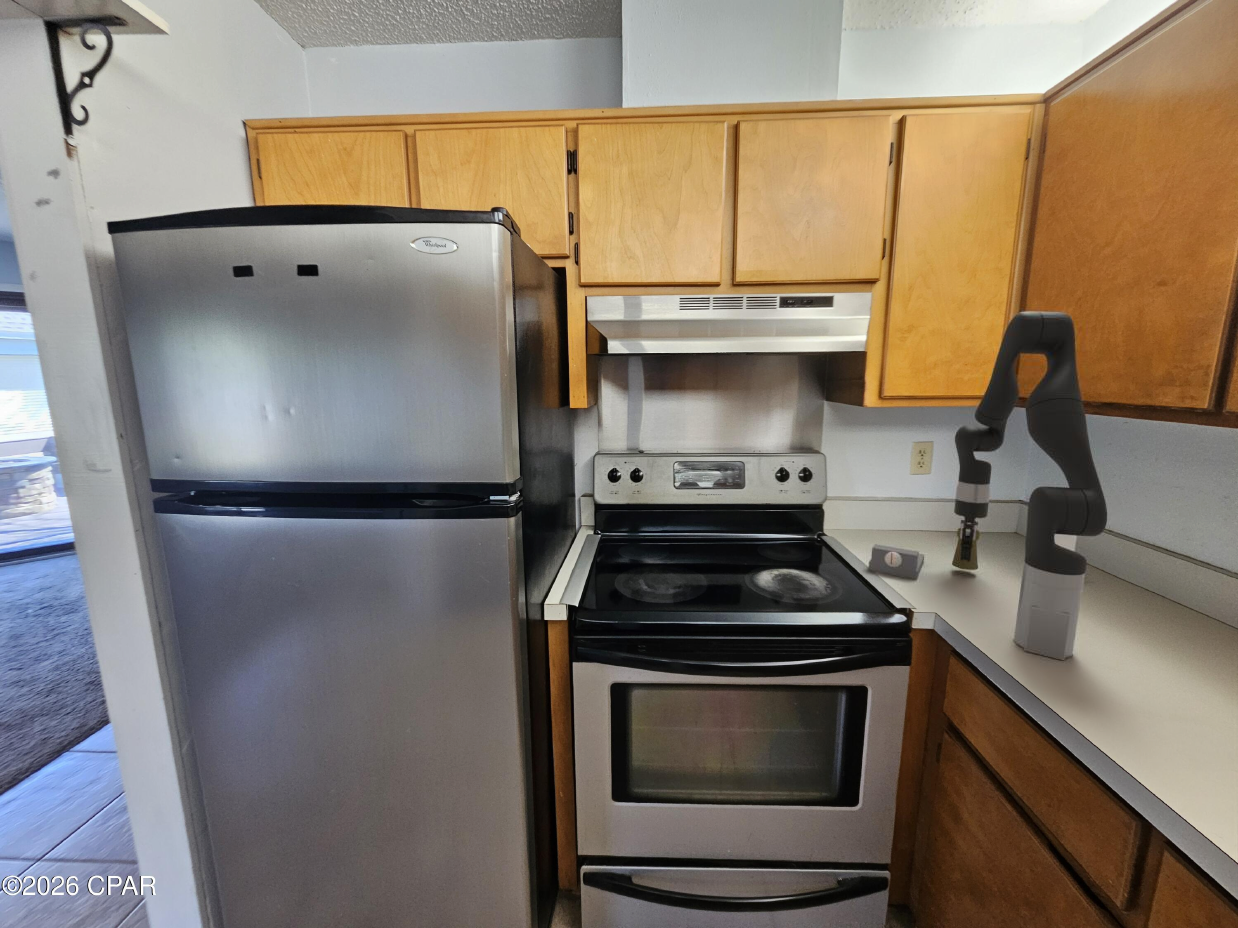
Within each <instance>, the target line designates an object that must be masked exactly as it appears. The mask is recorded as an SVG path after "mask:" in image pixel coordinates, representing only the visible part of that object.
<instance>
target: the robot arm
mask: <svg viewBox="0 0 1238 928" xmlns="http://www.w3.org/2000/svg"><path fill="white" fill-rule="evenodd" d="M1075 331H1076V330H1075V325H1074V321H1073V319H1072V316H1070V315H1069V314H1068V313H1066V312H1061V311H1021V312H1018V313H1016V314H1015V315H1014V316H1013V317H1012V318H1011V319H1010V321H1009V322H1008V325H1007V327H1006V329H1005V331H1004V333H1003V338H1002V341H1001V343H1000V346H999V349H998V352H997V356H996V359H995V363H994V367H993V369H992V372H991V376H990V379H989V383H988V385H987V388H986V389H985V392H984V394H983V396H982V398H981V399H980V402H979V404H978V406H977V407H976V410H975V412H974V419H975V420H976V422H977V423H979V424H981V425H962V426H961V427H960V428H958V430H957V431H956V433H955V436H954V443H955V449H956V453H957V457H958V458H957V459H958V462H959V464H958V465H959V472H958V481H957V484H956V485H957V486H956V490H955V497H954V509H953V513H954V514H955V515H957V516H960V517H964V519H961V520H960V524H959V528H961V533H960V538H961V539H962V542H961V547H962V549H961V558H960V559H961V560H962V561H963V559H964V560H967V561H968V562H969V561H970V557H971V549H972V548H973V545H972V543H973V540H975V537H976V530H978V529H979V521H977V520H976V519H985V518H987V517H988V513H989V503H990V497H991V494H990V493H991V488H990V487H991V477H992V465H991V463H990V462H988V461H987V460H982V459H977V458H976V457H975V454H974V453H975V452H976V453H977V452H980V453H981V452H984V453H991V452H996V451H997V450H998V449H1000V448H1001V446H1002V445H1003V444H1004V440H1005V433H1006V428H1007V421H1008V420H1009V418H1010V416H1011V414H1012V412H1013V410H1014V408H1016V405H1017V403H1018V402H1019V401H1018V400H1019V396H1020V387H1019V383H1018V381H1017V378H1016V377H1017V376H1016V373H1015V364H1016V362H1017V361H1016V360H1018V357H1019V355H1021V354H1023V355H1024V354H1025V355H1027V354H1028V355H1043V356H1045V359H1046V364H1047V365H1046V371H1045V374H1044V376H1043V377H1042V379H1041V380H1040V381H1039V382H1038V383H1037V385H1036V386H1035V388H1034V389H1033V390H1032V391H1031V393H1030V394H1029V396H1028V398H1027V399H1026V402H1025V405H1024V406H1025V409H1024V410H1025V417H1026V418H1025V419H1026V426H1027V430H1028V433H1029V435H1030V437H1031V439H1032V440H1033V441H1034V443H1035V444H1036V445H1037V446H1038V447H1039V448H1040V449H1041V450H1042V451H1043V452H1044V453H1045V454H1046V456H1047V455H1048V456H1049V458H1050V459H1051V460H1053V462H1054V463H1056V465H1057V466H1058V467H1059V468H1060V470H1061V471H1062V474H1063V475H1064V477H1065V480H1066V482H1067V485H1068V487H1065V486H1064V487H1063V486H1038V487H1036V488H1035V489H1033V490H1032V492H1031V494H1030V496H1029V498H1028V499H1029V500H1028V505H1027V516H1026V517H1027V518H1026V530H1025V532H1026V533H1025V541H1024V542H1025V543H1024V545H1025V546H1024V553H1025V554H1024V560H1023V561H1024V562H1023V570H1022V576H1021V583H1020V588H1019V589H1020V590H1019V598H1018V604H1017V605H1018V606H1017V613H1016V620H1015V627H1014V637H1013V641H1014V642H1015V644H1017V646H1019V647H1021V648H1022V649H1023V651H1024V652H1028V653H1032V654H1036V655H1041V656H1044V657H1048V658H1053V659H1057V660H1060V661H1065V660H1066V659H1067V658H1070V657H1072V656H1073V653H1074V646H1075V640H1076V633H1077V626H1078V622H1079V621H1078V619H1079V614H1080V607H1081V600H1082V595H1083V588H1084V582H1085V577H1086V571H1087V565H1088V563H1087V562H1088V561H1087V558H1086V557H1085V556H1084V555H1082V554H1080V553H1079V552H1077V551H1075V552H1074V551H1072V550H1069V549H1066V548H1064V547H1061V546H1059V545H1057V544H1056V543H1055V539H1054V536H1055V534H1062V535H1075V536H1077V537H1098V536H1100V535H1101V534H1102V533H1103V532H1104V531H1105V529H1106V527H1107V522H1108V509H1107V508H1108V507H1107V503H1106V499H1105V496H1104V491H1103V489H1102V485H1101V482H1100V479H1099V476H1098V472H1097V469H1096V466H1095V463H1094V458H1093V454H1092V450H1091V445H1090V439H1089V438H1090V437H1089V432H1088V424H1087V419H1086V418H1087V417H1086V412H1085V406H1084V401H1083V397H1082V393H1081V392H1082V391H1081V388H1080V383H1079V377H1078V376H1079V375H1078V369H1077V354H1076V352H1077V351H1076V334H1075ZM973 533H974V534H973ZM964 541H970V544H969V543H964Z"/></svg>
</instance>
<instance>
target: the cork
mask: <svg viewBox="0 0 1238 928" xmlns="http://www.w3.org/2000/svg"><path fill="white" fill-rule="evenodd" d="M960 533H961V528H960V527H959V528H957V531H956V535H957V536H956V537H957V538H958V540H957V543H956V547H955V550H954V551H955V552H954V555H953V559H952V563H951V565H952V566H953V567H955V568H957V569H961V570H968V571H976V570H978V569H979V567H978V563H979V562H978V545H977V544H978V543H977V541H978V540H979V539H980V536H981V533H980V531H979V530H978V529H977V530H976V537H975V540H973V543H972V545H973V548H972V549H971V557H970V561H969V562H968V561H967V560H964V559H963V561H962V560H961V559H960V558H961V549H962V547H961V542H962V539H961V538H960ZM973 534H974V533H973ZM964 543H969V544H970V541H964Z"/></svg>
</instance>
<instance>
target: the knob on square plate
mask: <svg viewBox="0 0 1238 928" xmlns="http://www.w3.org/2000/svg"><path fill="white" fill-rule="evenodd" d="M919 552H920V551H918V550H912V549H907V548H899V547H894V546H889V545H882V544H877V543H875V544H873V546H872V547H871V559H870V560H869V562H868V571H870V570H871V572H874V573H875V572H876V573H879V574H881V573H882V574H886V575H892V576H895V577H901V578H906V579H910V580H916V581H917V580H918V578H919V575H920V574H921V573H920V572H921V570H922V567H923V565H924V563H925V554H922V553H919Z"/></svg>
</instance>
